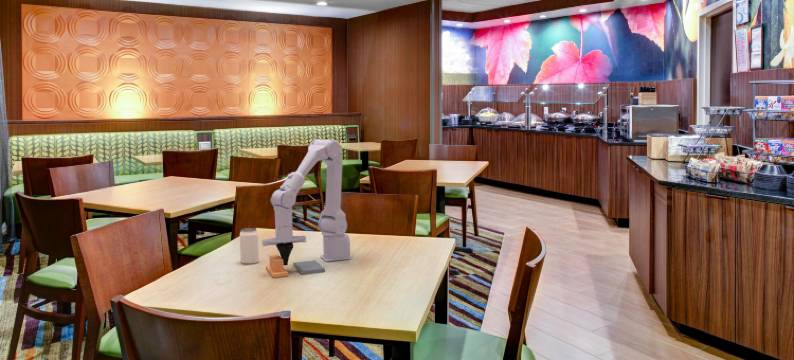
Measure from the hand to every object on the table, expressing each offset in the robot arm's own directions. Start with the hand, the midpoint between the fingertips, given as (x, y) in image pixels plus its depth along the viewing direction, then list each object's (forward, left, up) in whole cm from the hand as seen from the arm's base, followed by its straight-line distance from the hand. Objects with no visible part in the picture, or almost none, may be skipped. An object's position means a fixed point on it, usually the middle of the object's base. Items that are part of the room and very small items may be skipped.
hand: (285, 264), depth 208 cm
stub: (+3, 0, -2) cm, 4 cm away
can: (+9, -18, -3) cm, 20 cm away
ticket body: (-8, 0, -2) cm, 8 cm away
